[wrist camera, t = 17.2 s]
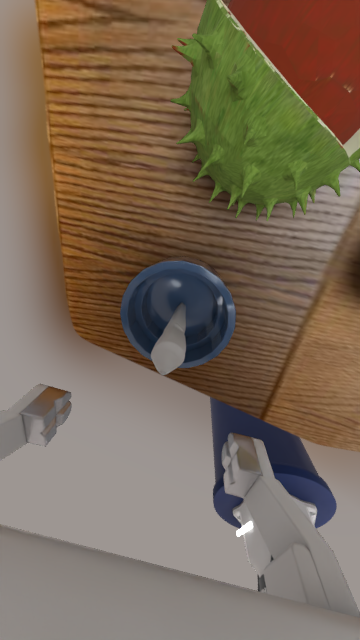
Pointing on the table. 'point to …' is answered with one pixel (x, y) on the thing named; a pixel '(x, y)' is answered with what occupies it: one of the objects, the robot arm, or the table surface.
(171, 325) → the pen
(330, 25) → the chestnut
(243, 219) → the table surface
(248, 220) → the table surface
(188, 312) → the bowl
